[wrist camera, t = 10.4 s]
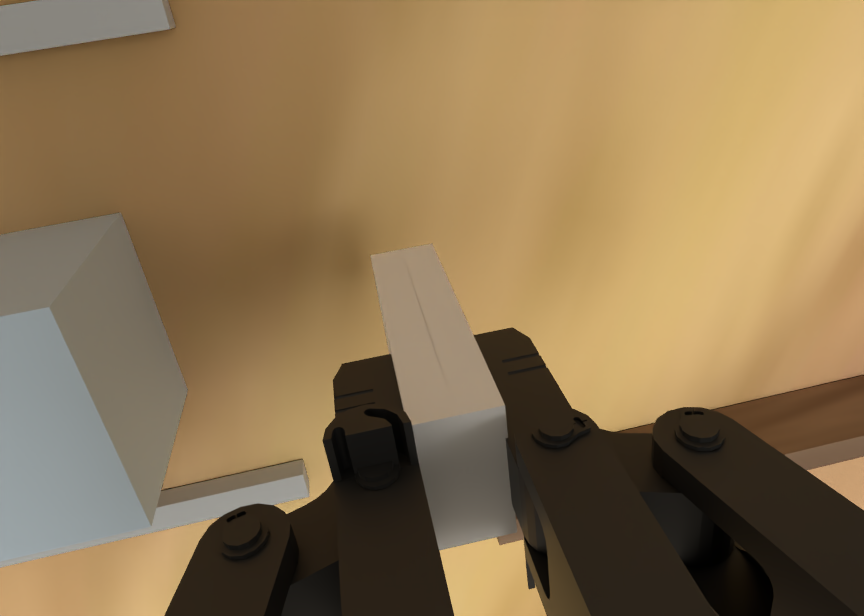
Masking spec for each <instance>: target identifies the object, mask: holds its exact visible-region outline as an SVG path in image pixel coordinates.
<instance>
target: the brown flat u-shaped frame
mask: <svg viewBox="0 0 864 616" xmlns="http://www.w3.org/2000/svg"><path fill="white" fill-rule="evenodd" d="M713 411H718V412H720V413H722V414H724V415H726V416H728V417H730V418H732V419H733V420H735V421H736V422H738V423H739V424H741V425H742V426H743V427H745V428H746V429H748V430H749V431H751V432H752V433H753V434H755V435H756V436H758V437H759V438H761V439H762V440H763V441H765V442H766V443H768V444H769V445H771V446H772V447H774V448H775V449H776V450H778V451H779V452H781V453H782V454H784V455H785V456H786V457H788V458H789V459H791V460H792V461H794V462H795V463H796V464H798V465H799V466H801V467H802V468H804V469H805V470H810V469H814V468H818V467H822V466H826V465H830V464H835V463H839V462H843V461H847V460H851V459H855V458H859V457H863V456H864V375H862V376H858V377H854V378H849V379H845V380H841V381H836V382H832V383H828V384H823V385H819V386H815V387H810V388H806V389H802V390H797V391H793V392H789V393H784V394H780V395H776V396H771V397H767V398H763V399H758V400H754V401H750V402H745V403H741V404H737V405H732V406H728V407H724V408H719V409H715V410H713ZM654 424H655V423H654ZM654 424H650V425H646V426H641V427H637V428H633V429H628V430H624V431H620V433H652V428H653V426H654ZM516 525H517V532H516V533H512V534H508V535H503V536H499V537H497V539H498V542H499V545H502V544H506V543H510V542H515V541H519V540H523V539H524V536H523V532H522V529H521V527H520V524H519V521H518V519H517V516H516Z"/></svg>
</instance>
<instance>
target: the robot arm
mask: <svg viewBox="0 0 864 616" xmlns="http://www.w3.org/2000/svg"><path fill="white" fill-rule="evenodd" d="M370 257H371V262H372V267H373V272H374V278H375V283H376V288H377V293H378V298H379V304H380V309H381V314H382V319H383V324H384V329H385V335H386V340H387V345H388V350H389V354H388V355H383V356H378V357H373V358H368V359H364V360H359V361H354V362H349V363H344V364H342V365H341V367H340V369H339V371H338V372H337V374H336V376H335V378H334V379H333V388H334V399H335V400H334V404H335V413H336V414H335V418H334V420H333V421H332V422H331V423H330V424H329V426H328V427H327V428H326V429H325V433H324V437H323V444H324V447H325V451H326V455H327V458H328V462H329V466H330V469H331V473H332V477H333V480H334V481H333V482H332V484H331V485H330V486H329V487H328V489H327V490H326V491H325V492H324V493H322V494H321V495H320V496H319V497H318V498H317V499H315V500H313V501H312V502H310V503H308V504H307V505H305V506H303V507H301V508H299V509H297V510H295V511H293V512H291V513H288V514H286V513H285V512H284V511H282V510H281V509H279V508H277V507H276V506H274V505H268V504H259V503H257V504H252V505H247V506H241V507H239V508H237V509H235V510H233V511H230V512H228V513H226V514H224V515H223V516H222V517H220V518H219V519H218V520H217V521H215V522H214V523H213V524H212V525H210V526H209V528H208V529H207V531H206V532H205V534H204V535H203V536H202V538H201V539H200V541H199V543H198V545H197V547H196V549H195V552H194V554H193V556H192V558H191V560H190V562H189V564H188V567H187V569H186V571H185V573H184V575H183V577H182V579H181V581H180V584H179V586H178V588H177V590H176V592H175V594H174V596H173V599H172V601H171V603H170V605H169V607H168V609H167V611H166V613H165V616H454V613H453V609H452V604H451V600H450V596H449V591H448V587H447V583H446V578H445V574H444V570H443V565H442V561H441V557H440V552H439V550H443V549H447V548H451V547H456V546H460V545H464V544H469V543H473V542H477V541H482V540H486V539H490V538H495V537H499V536H503V535H508V534H512V533H516V532H517V525H516V516H517V519H518V521H519V524H520V527H521V529H522V532H523V536H524V547H525V558H526V569H527V580H528V588H529V589H532V588H535V584H536V587H537V590H538V593H539V595H540V598H541V601H542V603H543V606H544V609H545V612H546V614H547V616H864V510H862V509H861V508H859V507H858V506H856V505H855V504H854V503H852V502H851V501H849V500H848V499H846V498H845V497H844V496H842V495H841V494H839V493H838V492H836V491H835V490H834V489H832V488H831V487H829V486H828V485H826V484H825V483H824V482H822V481H821V480H819V479H818V478H816V477H815V476H814V475H812V474H811V473H809V472H808V471H806V470H805V469H804V468H802V467H801V466H799V465H798V464H796V463H795V462H794V461H792V460H791V459H789V458H788V457H786V456H785V455H784V454H782V453H781V452H779V451H778V450H776V449H775V448H774V447H772V446H771V445H769V444H768V443H766V442H765V441H763V440H762V439H761V438H759V437H758V436H756V435H755V434H753V433H752V432H751V431H749V430H748V429H746V428H745V427H743V426H742V425H741V424H739V423H738V422H736V421H735V420H733V419H732V418H730V417H728V416H726V415H724V414H722V413H720V412H718V411H713V410H709V409H705V408H699V407H683V408H679V409H675V410H671V411H668V412H666V413H665V414H663V415H662V416H660V417H659V418H657V420H656V422H655V424H654V426H653V428H652V433H620V432H610V431H606V430H602V429H599V427H598V426H597V424H596V423H595V422H594V421H593V420H592V419H591V418H590V417H589V416H588V415H586V414H583V413H581V412H579V411H577V410H575V409H572V408H571V406H570V404H569V403H568V401H567V399H566V398H565V396H564V394H563V393H562V391H561V389H560V388H559V386H558V384H557V383H556V381H555V379H554V378H553V376H552V374H551V373H550V371H549V369H548V368H546V364H545V363H544V361H543V359H542V358H541V356H539V353H538V351H537V349H536V348H535V346H534V344H533V343H532V341H531V339H530V338H529V337H527V336H526V335H524V334H522V333H521V332H519V331H517V330H516V329H514V328H513V327H512V328H507V329H502V330H497V331H493V332H488V333H483V334H478V335H473V333H472V331H471V329H470V326H469V324H468V322H467V320H466V318H465V315H464V313H463V311H462V309H461V307H460V304H459V302H458V300H457V298H456V295H455V293H454V291H453V289H452V287H451V284H450V282H449V280H448V278H447V275H446V273H445V271H444V269H443V267H442V264H441V262H440V260H439V258H438V256H437V253H436V251H435V249H434V247H433V244H427V245H421V246H416V247H411V248H405V249H400V250H395V251H390V252H384V253H379V254H374V255H370Z"/></svg>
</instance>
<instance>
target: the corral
mask: <svg viewBox="0 0 864 616" xmlns="http://www.w3.org/2000/svg"><path fill="white" fill-rule="evenodd" d="M175 27H176V26H175V22H174V19H173V15H172V12H171V9H170V5H169V2H168V0H37V1H30V2H23V3H17V4H10V5H3V6H0V56H2V55H9V54H15V53H21V52H28V51H34V50H40V49H47V48H53V47H60V46H66V45H72V44H79V43H85V42H92V41H98V40H104V39H111V38H117V37H123V36H130V35H136V34H143V33H149V32H155V31H162V30H168V29H172V28H175ZM305 497H309V479H308V476H307V472H306V469H305V465H304V462H303V459H302V460H297V461H293V462H289V463H284V464H280V465H275V466H271V467H266V468H262V469H257V470H253V471H248V472H244V473H239V474H235V475H230V476H226V477H222V478H217V479H213V480H208V481H204V482H199V483H195V484H190V485H186V486H181V487H177V488H172V489H168V490H163V491H161V493H160V497H159V500H158V504H157V508H156V511H155V515H154V519H153V523H152V526H151V527H148V528H143V529H139V530H135V531H130V532H126V533H122V534H117V535H113V536H109V537H104V538H100V539H96V540H91V541H87V542H83V543H78V544H74V545H70V546H65V547H61V548H57V549H52V550H48V551H44V552H39V553H35V554H31V555H26V556H22V557H18V558H13V559H9V560H5V561H0V567H5V566H9V565H14V564H18V563H22V562H27V561H31V560H35V559H40V558H44V557H48V556H53V555H57V554H61V553H66V552H70V551H75V550H79V549H83V548H88V547H92V546H96V545H101V544H105V543H109V542H114V541H118V540H122V539H127V538H131V537H135V536H140V535H144V534H149V533H153V532H157V531H162V530H166V529H170V528H175V527H179V526H183V525H188V524H192V523H196V522H201V521H205V520H210V519H214V518H218V517H222V516H223V515H224V514H226V513H228V512H230V511H233V510H235V509H237V508H239V507H241V506H247V505H252V504H257V503H259V504H268V505H275V504H279V503H284V502H288V501H292V500H297V499H301V498H305Z"/></svg>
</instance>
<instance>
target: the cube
mask: <svg viewBox="0 0 864 616" xmlns="http://www.w3.org/2000/svg"><path fill="white" fill-rule="evenodd" d="M187 392H188V389H187V386H186V383H185V381H184V378H183V375H182V373H181V370H180V367H179V365H178V362H177V360H176V357H175V354H174V352H173V349H172V346H171V344H170V341H169V338H168V336H167V333H166V330H165V328H164V325H163V322H162V320H161V317H160V315H159V312H158V309H157V307H156V304H155V301H154V299H153V296H152V293H151V291H150V288H149V285H148V283H147V280H146V277H145V275H144V272H143V270H142V267H141V264H140V262H139V259H138V256H137V254H136V251H135V248H134V246H133V243H132V240H131V238H130V235H129V232H128V230H127V227H126V224H125V222H124V219H123V217H122V214H121V212H120V213H115V214H110V215H104V216H99V217H93V218H88V219H82V220H77V221H71V222H66V223H61V224H55V225H50V226H44V227H39V228H33V229H28V230H22V231H17V232H11V233H6V234H1V235H0V561H5V560H9V559H13V558H18V557H22V556H26V555H31V554H35V553H39V552H44V551H48V550H52V549H57V548H61V547H65V546H70V545H74V544H78V543H83V542H87V541H91V540H96V539H100V538H104V537H109V536H113V535H117V534H122V533H126V532H130V531H135V530H139V529H143V528H148V527H151V526H152V523H153V519H154V515H155V511H156V508H157V504H158V500H159V497H160V493H161V489H162V485H163V482H164V478H165V474H166V470H167V467H168V463H169V459H170V455H171V452H172V448H173V444H174V440H175V437H176V433H177V429H178V426H179V422H180V418H181V414H182V411H183V407H184V403H185V399H186V396H187Z"/></svg>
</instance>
